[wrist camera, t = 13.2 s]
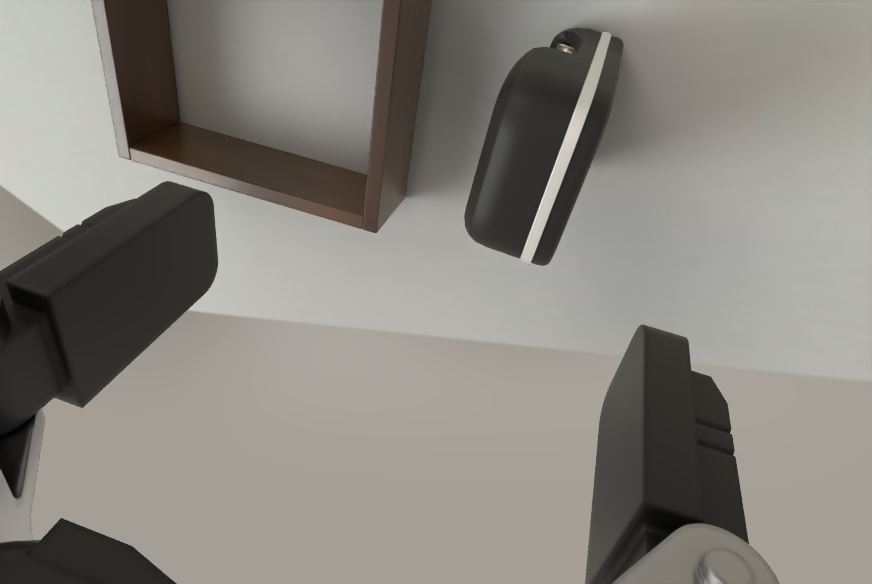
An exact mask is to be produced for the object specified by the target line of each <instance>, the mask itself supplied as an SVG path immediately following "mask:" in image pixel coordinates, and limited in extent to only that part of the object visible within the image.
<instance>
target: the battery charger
mask: <svg viewBox="0 0 872 584" xmlns="http://www.w3.org/2000/svg"><path fill="white" fill-rule="evenodd" d="M611 35H612V34H611V33H608V32H604V31H603V32H602V33H600V32H597V31H594V30H591V29H581V28H574V29H567V30H564V31H562V32H561V33H559V34H558V35H557V36H556V37H555V38H554V40H553V42H552V44H551V46H550V48H547V47H540V48H533V49H532V50H530V51H529V52H527V53H526V54H525V55H524V56H523V57H522V58H521V59H520V60H519V61H518V62H517V63H516V64H515V65H514V67H513V68H512V69H511V71H510V73H509V74H508V76H507V78H506V80H505V82H504V84H503V86H502V88H501V90H500V92H499V95H498V97H497V100H496V103H495V106H494V110H493V113H492V117H491V120H490V124H489V128H488V131H487V135H486V138H485V142H484V145H483V149H482V152H481V156H480V159H479V163H478V167H477V170H476V174H475V177H474V181H473V185H472V188H471V192H470V195H469V199H468V203H467V206H466V211H465V216H464V218H465V227H466V229H467V232H468V234H469V235H470V236H471V237H472V238H473V239H474V240H475V241H476V242H478V243H480V244H482V245H484V246H486V247H488V248H491V249H494V250H497V251H500V252H503V253H505V254H508V255H511V256H514V257H517V258H520V261H521V262H524V263H527V264H530V263H534V264H537V265H541V266H543V265H547V264H548V263H549V262H550V261H551V259H552V257H553V255H554V253H555V251H556V248H557V246H558V244H559V241H560V239H561V236H562V234H563V231H564V229H565V227H566V224H567V222H568V219H569V217H570V214H571V212H572V209H573V207H574V205H575V202H576V200H577V197H578V195H579V192H580V190H581V187H582V185H583V182H584V180H585V177H586V175H587V172H588V170H589V168H590V165H591V163H592V160H593V158H594V155H595V153H596V150H597V148H598V145H599V143H600V140H601V137H602V135H603V132H604V129H605V126H606V124H607V121H608V118H609V114H610V111H611V107H612V103H613V99H614V94H615V89H616V84H617V79H618V73H619V66H620V59H621V54H622V49H623V42H622V41H621V39H619V38H617V37H614V36H611Z"/></svg>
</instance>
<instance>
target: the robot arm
mask: <svg viewBox="0 0 872 584" xmlns="http://www.w3.org/2000/svg"><path fill="white" fill-rule="evenodd" d="M217 268H218V255H217V242H216V229H215V216H214V205H213V201H212V198H211V196H210V195H209V194H208V193H207V192H204V191H200V190H197V189H194V188H190V187H187V186H184V185H180V184H177V183H174V182H170V181H166V182H163V183H161V184H159V185H158V186H156V187H155V188H153V189H151V190H150V191H148V192H147V193H145V194H143V195H142V196H140V197H139V198H137V199H132V200H128V201H125V202H122V203H119V204H115V205H112V206H109V207H106V208H104V209H102V210H100V211H99V212H97V213H95V214H94V215H92V216H90V217H89V218H87V219H86V220H84V221H82V224H81V225H78V224H77V225H76V226H74V227H72V228H71V229H69V230H67V231H66V232H64V233H63V236H62V237H60V236H58V237H56V238H54V239H52V240H51V241H49V242H47V243H46V244H44V245H43V246H41V247H39V248H38V249H36V250H34V251H33V252H31V253H29V254H28V255H26V256H24V257H23V258H21V259H19V260H18V261H16V262H14V263H13V264H11V265H9V266H8V267H6V268H4V269H3V270H1V271H0V584H176V583H175V582H174V581H173V580H171V579H170V578H169V577H168V576H167V575H165V574H164V573H163V572H162V571H161V570H160V569H158V568H157V567H156V566H155V565H154V564H152V563H151V562H150V561H149V560H148V559H146V558H145V557H144V556H143V555H142V554H140V553H139V552H138V551H137V550H136V549H135V548H133V547H132V546H130V545H128V544H125V543H123V542H120V541H118V540H115V539H113V538H110V537H108V536H105V535H103V534H100V533H98V532H95V531H93V530H90V529H87V528H85V527H82V526H80V525H77V524H75V523H72V522H70V521H67V520H64V519H62V518H61V519H60V520H59V521H58V522H57V523H56V524H55V525H54V526H53V528H52V529H51V530H50V531H49V532H48V533H47V534H46V535H45V536H44V537H43V538H42V539H41V540H33V534H32V527H31V512H32V504H33V498H34V492H35V485H36V478H37V472H38V465H39V459H40V452H41V445H42V439H43V432H44V426H45V415H44V412H43V409H42V407H44V406H45V405H46V404H47V403H48V402H49V401H50V400H51V399H53V398H57V399H60V400H63V401H65V402H68V403H70V404H73V405H76V406H79V407H81V408H83V407H84V406H85V405H86V404H87V403H88V402H89V401H90V400H92V398H94V397H95V396H96V395H97V394H98V393H99V392H100V391H101V390H102V389H103V388H104V387H105V386H106V385H108V384H109V383H110V382H111V381H112V380H113V379H114V378H115V377H116V376H117V375H118V374H119V373H120V372H121V371H123V370H124V369H125V368H126V367H127V366H128V365H129V364H130V363H131V362H132V361H133V360H134V359H135V358H136V357H138V355H140V354H141V353H142V352H143V351H144V350H145V349H146V348H147V347H148V346H149V345H150V344H151V343H152V342H154V341H155V340H156V339H157V338H158V337H159V336H160V335H161V334H162V333H163V332H164V331H165V330H166V329H167V328H169V327H170V326H171V325H172V324H173V323H174V322H175V321H176V320H177V319H178V318H179V317H180V316H181V315H182V314H183V313H184V312H186V311H187V310H188V309H189V308H190V307H191V306H192V305H193V304H194V303H195V302H196V301H197V300H198V299H200V298H201V297H202V296H203V295H204V294H205V293H206V292H207V291H208V289H209V288H210V287H211V285H212V283H213V281H214V279H215V276H216V273H217ZM730 431H731V424H730V418H729V411H728V405H727V402H726V400H725V399H724V397H723V396H722V394H721V392H720V391H719V389H718V388H717V386H716V384H715V383H714V381H713V379H712V378H711V377H710V376H707V375H703V374H700V373H697V372H694V371H691V364H690V353H689V343H688V339H687V338H686V337H683V336H679V335H676V334H673V333H669V332H666V331H663V330H659V329H656V328H653V327H649V326H646V325H640V326H639V327H638V329H637V331H636V332H635V334H634V336H633V338H632V340H631V342H630V345H629V347H628V349H627V351H626V353H625V355H624V357H623V359H622V361H621V363H620V365H619V368H618V370H617V372H616V374H615V376H614V378H613V380H612V382H611V384H610V386H609V389H608V392H607V394H606V397H605V400H604V403H603V407H602V411H601V416H600V422H599V434H598V445H597V456H596V467H595V479H594V490H593V501H592V512H591V524H590V535H589V546H588V557H587V569H586V581H585V584H780V583H779V581H778V579H777V577H776V575H775V574H774V572H773V571H772V569H771V568H770V566H769V565H768V564H767V562H766V561H765V560H764V559H763V557H761V555H760V554H758V552H757V551H755V550H754V548H752V547H751V546H750V545H749V542H748V536H747V529H746V523H745V516H744V510H743V504H742V497H741V490H740V484H739V477H738V470H737V464H736V458H735V456H733V454H734V445H733V438H732V434H730Z"/></svg>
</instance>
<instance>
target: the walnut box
mask: <svg viewBox="0 0 872 584" xmlns="http://www.w3.org/2000/svg"><path fill="white" fill-rule="evenodd" d="M91 2H92V7H93V13H94V19H95V24H96V30H97V36H98V41H99V47H100V52H101V58H102V64H103V69H104V75H105V80H106V86H107V92H108V97H109V103H110V108H111V114H112V120H113V125H114V131H115V137H116V142H117V148H118V153H119V157H122V158H125V159H128V160H132V161H135V162H138V163H142V164H145V165H148V166H152V167H155V168H158V169H162V170H165V171H169V172H172V173H175V174H179V175H182V176H185V177H189V178H192V179H195V180H199V181H202V182H205V183H209V184H212V185H216V186H219V187H222V188H226V189H229V190H232V191H236V192H239V193H242V194H246V195H249V196H253V197H256V198H259V199H263V200H266V201H269V202H273V203H276V204H279V205H283V206H286V207H289V208H293V209H296V210H300V211H303V212H306V213H310V214H313V215H316V216H320V217H323V218H326V219H330V220H333V221H337V222H340V223H343V224H347V225H350V226H353V227H357V228H360V229H363V230H367V231H370V232H373V233H377V232H378V230H379V229H380V228H381V227H382V226H383V224H384V223H385V222H386V221H387V219H388V218H389V217H390V216H391V214H392V213H393V212H394V211H395V209H396V208H397V207H398V206H399V205H400V203H401V202H402V201H403V200H404V198H405V192H406V185H407V177H408V170H409V163H410V155H411V148H412V140H413V133H414V125H415V118H416V111H417V103H418V96H419V88H420V81H421V73H422V66H423V59H424V51H425V44H426V36H427V29H428V21H429V14H430V7H431V0H383V9H382V21H381V32H380V43H379V54H378V65H377V76H376V87H375V98H374V109H373V120H372V131H371V142H370V153H369V164H368V175H364V174H360V173H357V172H353V171H350V170H346V169H343V168H339V167H336V166H332V165H329V164H325V163H322V162H318V161H314V160H311V159H307V158H304V157H300V156H297V155H293V154H290V153H286V152H283V151H279V150H276V149H272V148H268V147H265V146H261V145H258V144H254V143H251V142H247V141H244V140H240V139H237V138H233V137H230V136H226V135H222V134H219V133H215V132H212V131H208V130H205V129H201V128H198V127H194V126H191V125H187V124H184V123H180V121H179V112H178V103H177V93H176V84H175V75H174V66H173V57H172V48H171V38H170V29H169V20H168V11H167V2H166V0H91Z"/></svg>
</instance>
